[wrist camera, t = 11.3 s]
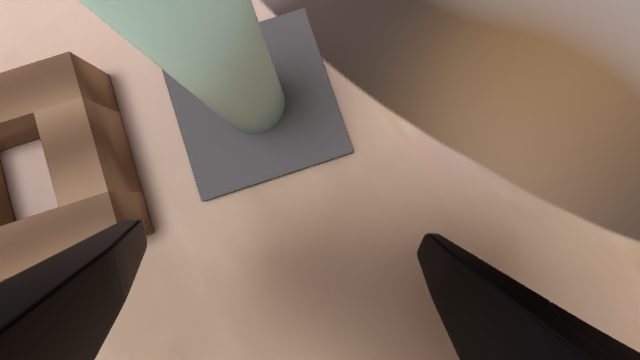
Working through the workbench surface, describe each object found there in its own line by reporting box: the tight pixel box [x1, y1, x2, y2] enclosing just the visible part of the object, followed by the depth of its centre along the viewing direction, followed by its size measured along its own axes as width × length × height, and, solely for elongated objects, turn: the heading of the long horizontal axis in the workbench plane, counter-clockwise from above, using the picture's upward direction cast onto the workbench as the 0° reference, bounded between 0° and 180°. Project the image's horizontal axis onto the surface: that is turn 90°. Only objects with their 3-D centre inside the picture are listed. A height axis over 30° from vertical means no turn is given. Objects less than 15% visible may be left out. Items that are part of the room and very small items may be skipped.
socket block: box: [0, 52, 154, 282], centre depth 17 cm, size 12×12×3 cm
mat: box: [162, 8, 354, 201], centre depth 19 cm, size 11×11×1 cm
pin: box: [78, 0, 285, 134], centre depth 12 cm, size 4×4×13 cm
